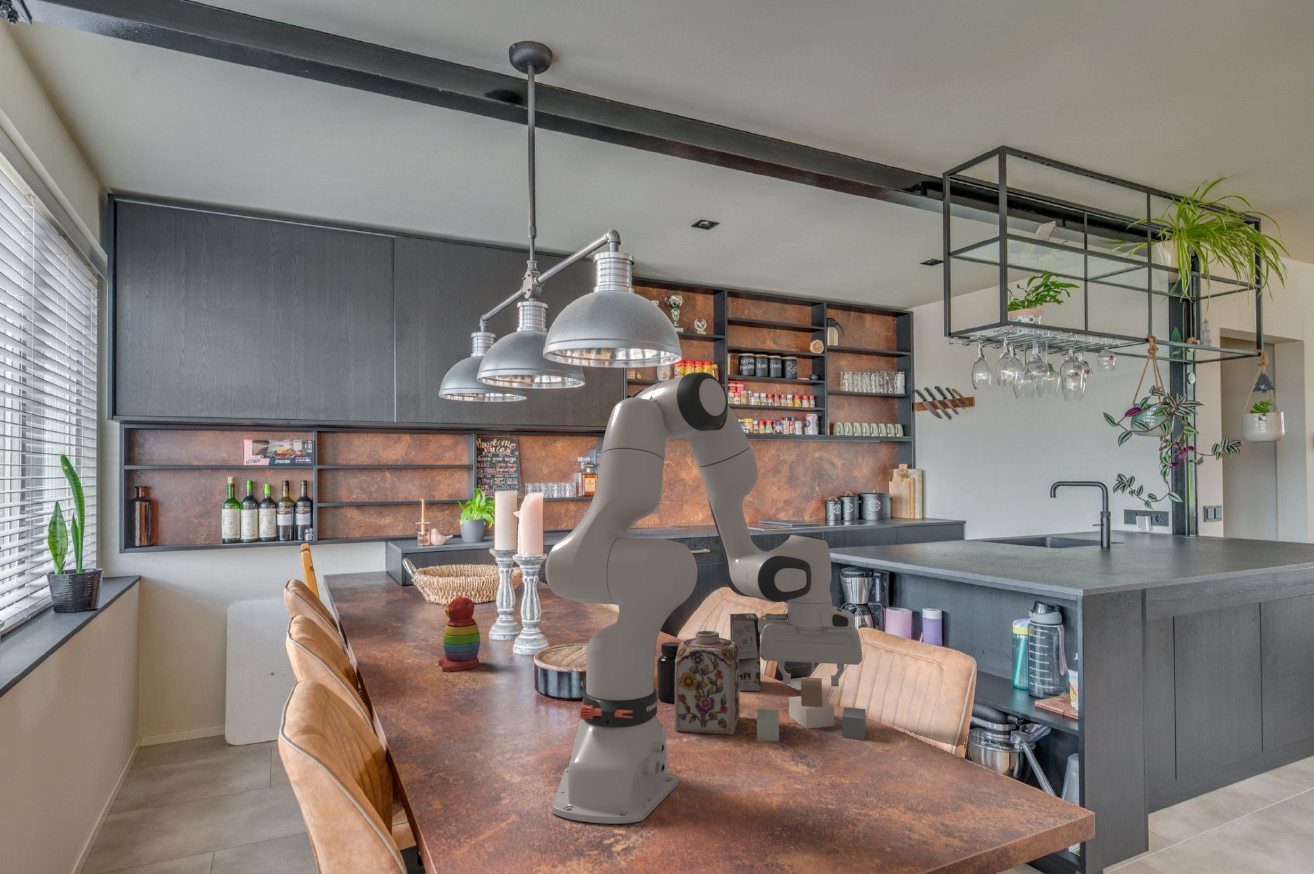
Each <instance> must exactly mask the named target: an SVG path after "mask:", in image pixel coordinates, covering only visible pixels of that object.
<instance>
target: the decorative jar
mask: <svg viewBox="0 0 1314 874" xmlns="http://www.w3.org/2000/svg"><path fill="white" fill-rule="evenodd" d="M738 653H739V651H738V648H737V645H736V643H735V642H732V641H730V639H727V638H723V637H720V632H719V631H717V630H716V631H715V630H701V631H697V632H695V637H693V638H688V639H684V640H683V639H682V641H680V644H679V647H678V651H677V653H676V659H675V703H674V730H675V731H676V732H683V733H684V732H686V733H699V734H716V735H728V736H729V735H730V736H732V735H734V734H735V732H736V729H737V724H738V722H739V718H740V708H741V707H740V704H741V703H740V700H741V699H740V691H739V661H738V660H739V656H738V655H739V654H738Z"/></svg>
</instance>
